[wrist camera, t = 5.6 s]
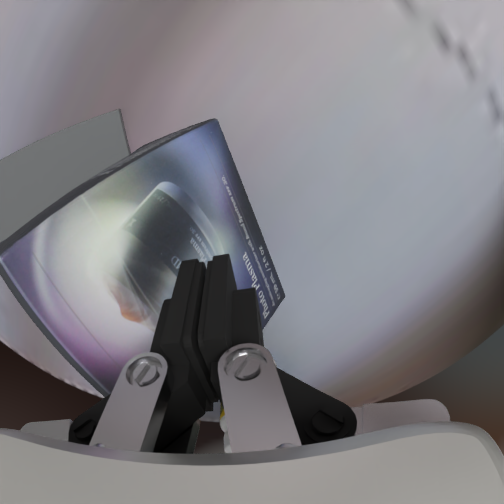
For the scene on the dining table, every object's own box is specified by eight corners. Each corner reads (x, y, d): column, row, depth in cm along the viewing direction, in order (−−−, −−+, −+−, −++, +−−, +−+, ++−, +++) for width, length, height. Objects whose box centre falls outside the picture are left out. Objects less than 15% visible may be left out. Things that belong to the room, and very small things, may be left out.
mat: (120, 108, 15) (118, 109, 15) (178, 303, 22) (177, 306, 22) (-23, 173, 15) (-26, 174, 15) (41, 315, 23) (40, 317, 22)
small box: (294, 298, 17) (181, 458, 11) (212, 286, 21) (110, 401, 15) (222, 111, 12) (-12, 262, 5) (141, 144, 16) (-15, 253, 10)
